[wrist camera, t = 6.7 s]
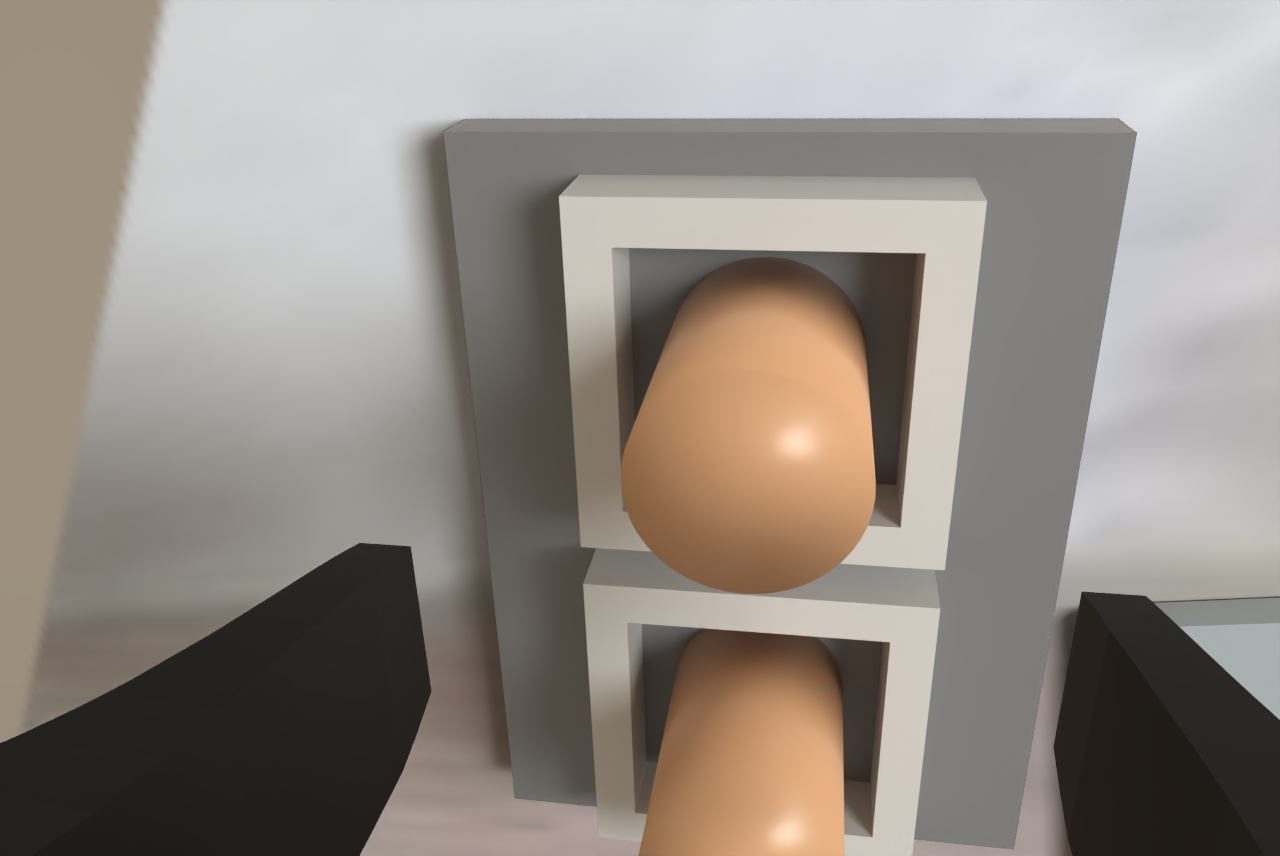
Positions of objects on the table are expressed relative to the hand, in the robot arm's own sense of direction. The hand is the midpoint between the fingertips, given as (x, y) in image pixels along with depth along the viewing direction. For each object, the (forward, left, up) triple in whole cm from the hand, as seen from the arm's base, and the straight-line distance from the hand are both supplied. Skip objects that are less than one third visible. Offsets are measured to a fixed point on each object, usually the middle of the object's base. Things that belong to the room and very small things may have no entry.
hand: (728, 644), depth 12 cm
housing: (-4, 0, -9) cm, 10 cm away
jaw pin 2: (-7, 0, -8) cm, 11 cm away
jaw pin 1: (0, 0, -8) cm, 8 cm away
